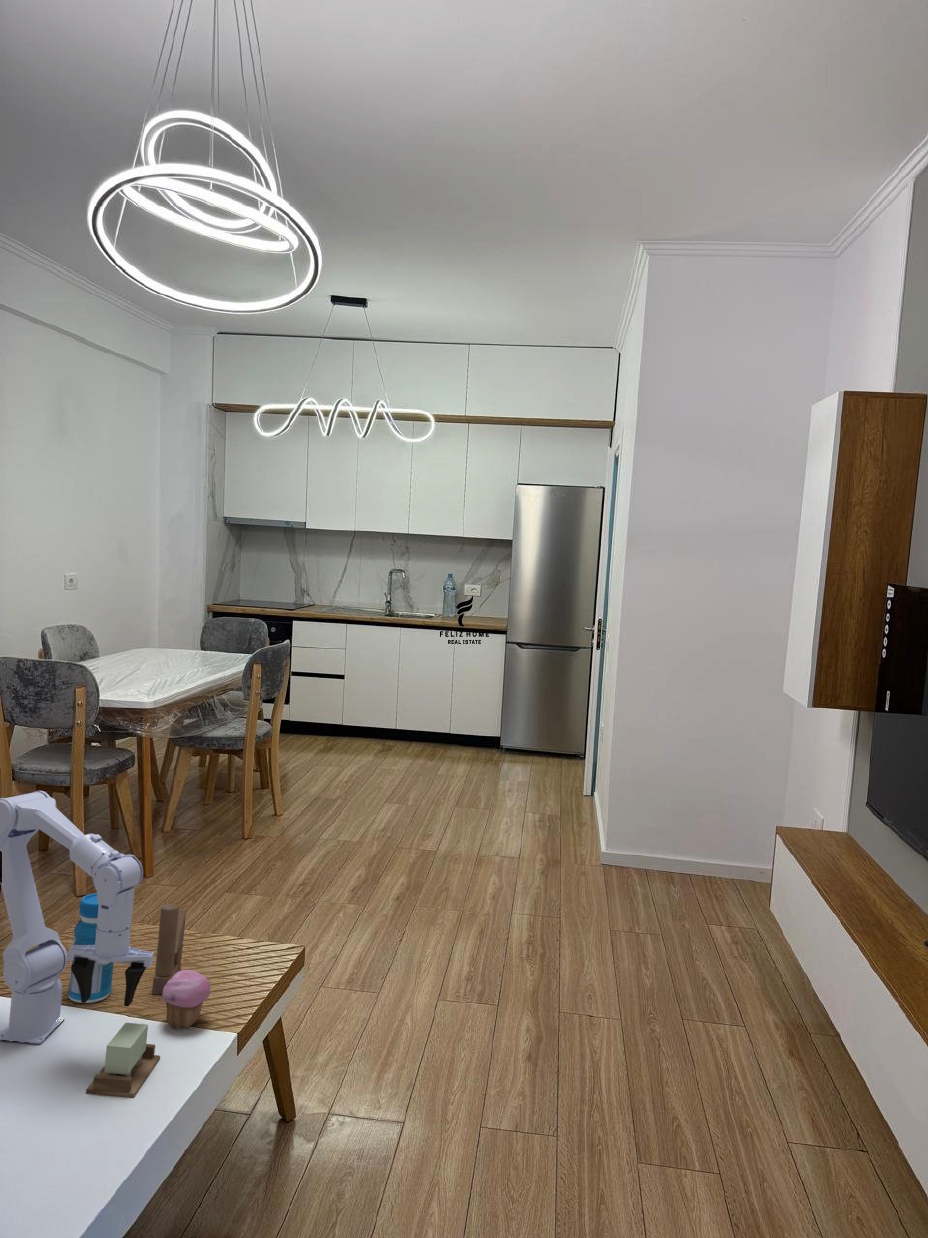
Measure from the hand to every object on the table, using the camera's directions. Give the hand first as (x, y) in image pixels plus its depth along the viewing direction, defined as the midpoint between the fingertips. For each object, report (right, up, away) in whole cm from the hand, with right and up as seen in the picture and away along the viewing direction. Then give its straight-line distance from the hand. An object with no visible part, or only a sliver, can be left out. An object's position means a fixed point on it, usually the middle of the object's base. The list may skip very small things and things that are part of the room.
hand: (107, 1002), depth 149 cm
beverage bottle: (-13, -9, +22) cm, 27 cm away
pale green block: (+5, -8, -5) cm, 11 cm away
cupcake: (+9, -11, +14) cm, 20 cm away
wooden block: (0, -10, +30) cm, 32 cm away
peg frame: (+5, -10, -5) cm, 13 cm away
